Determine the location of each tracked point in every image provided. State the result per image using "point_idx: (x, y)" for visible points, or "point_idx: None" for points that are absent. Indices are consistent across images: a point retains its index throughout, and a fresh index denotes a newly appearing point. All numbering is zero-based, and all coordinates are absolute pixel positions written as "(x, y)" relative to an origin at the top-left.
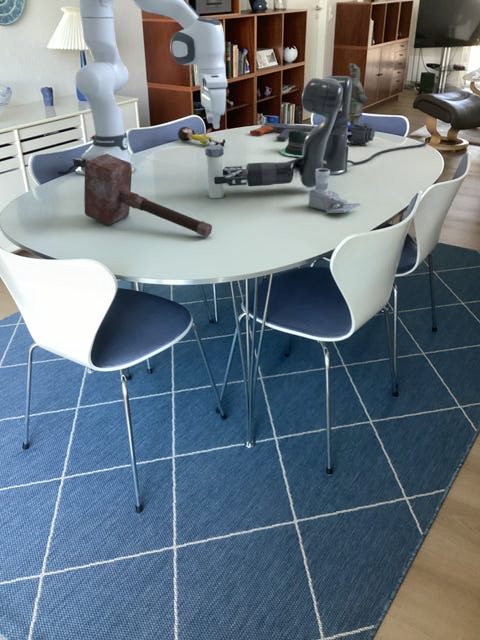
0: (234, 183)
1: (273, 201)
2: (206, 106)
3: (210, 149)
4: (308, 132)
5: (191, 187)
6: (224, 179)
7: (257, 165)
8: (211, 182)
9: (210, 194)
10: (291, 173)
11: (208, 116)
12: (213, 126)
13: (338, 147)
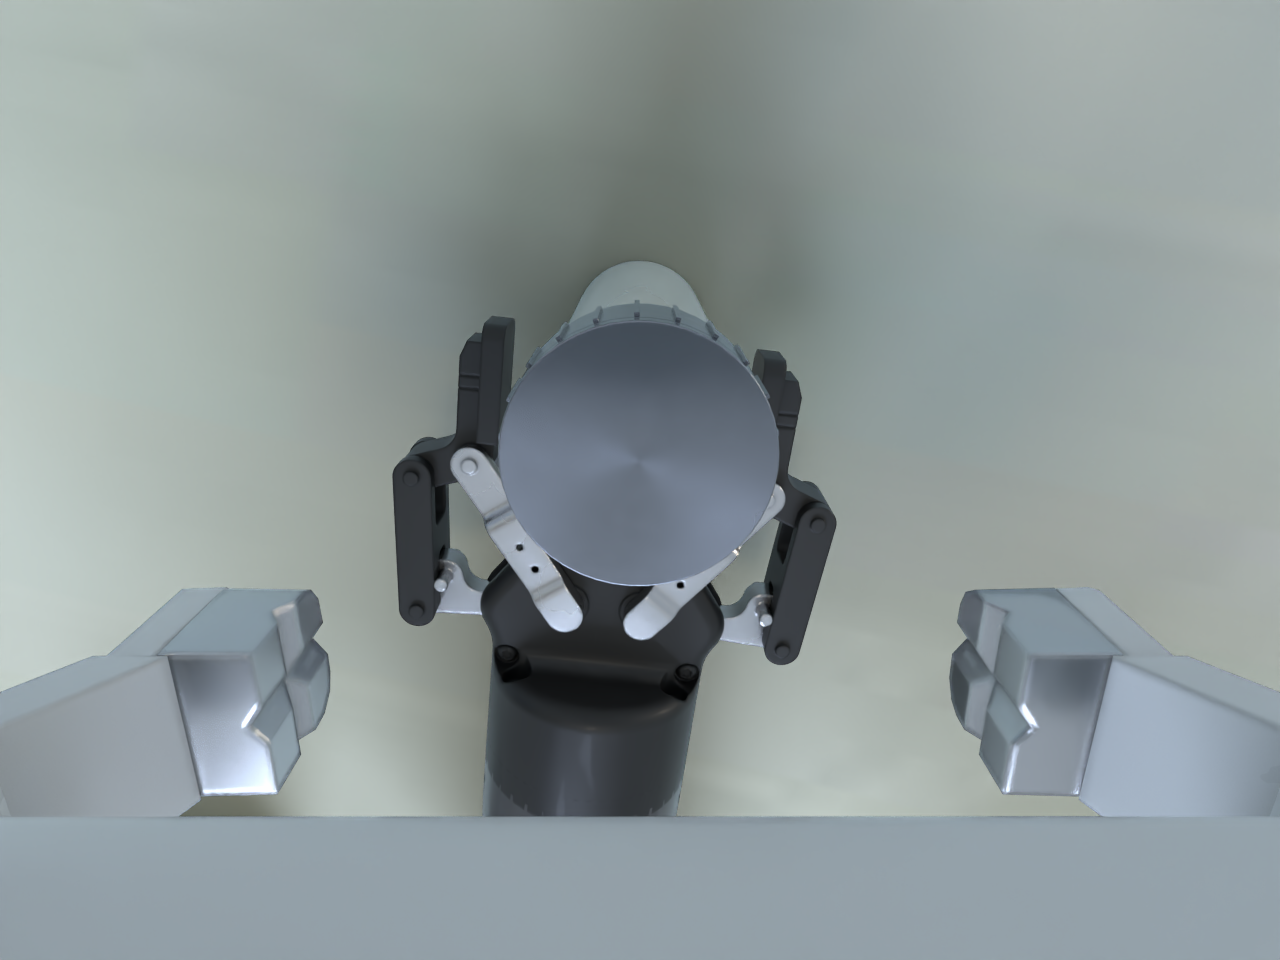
0: (437, 495)
1: (397, 688)
2: (681, 931)
3: (522, 380)
4: None
5: (974, 150)
6: (458, 421)
7: (537, 785)
8: (584, 299)
9: (606, 272)
10: None
11: (1117, 699)
12: (210, 601)
13: None
